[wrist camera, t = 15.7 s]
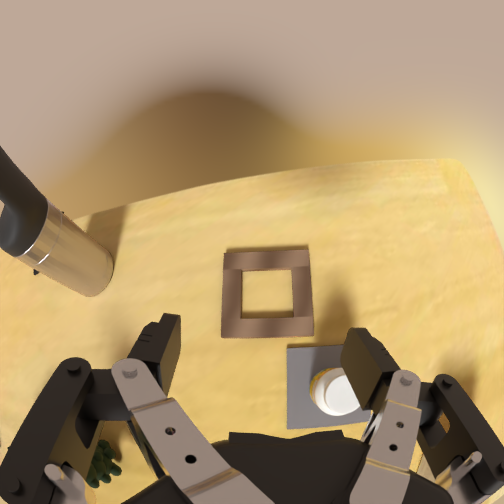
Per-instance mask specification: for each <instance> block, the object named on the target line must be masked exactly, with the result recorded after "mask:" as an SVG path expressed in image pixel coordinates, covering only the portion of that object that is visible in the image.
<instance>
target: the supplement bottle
mask: <svg viewBox="0 0 504 504" xmlns="http://www.w3.org/2000/svg"><path fill="white" fill-rule="evenodd" d="M309 393H310V397H311V399H312V400H313V402H314V403H315V404H316V405H317V406H318V407H319V408H320V409H321V410H322V411H323V412H325V413H327V414H329V415H333V416H340V415H345V414H347V413H350V412H353V411H354V410H356V409H357V408H358V407H359V406H360V404H359V402H358V400H357V398H356V396H355V394H354V391H353V389H352V387H351V385H350V383H349V381H348V379H347V377H346V374H345V372H344V370H343V368H327V369H324V370H322V371H320V372H319V373H317V374H316V375H315V376H314V377H313V379H312V380H311V382H310V386H309Z"/></svg>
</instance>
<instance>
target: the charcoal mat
mask: <svg viewBox="0 0 504 504" xmlns="http://www.w3.org/2000/svg"><path fill="white" fill-rule="evenodd" d="M343 346H344V345H334V346H321V347H304V348H287V429H303V428H318V427H329V426H338V425H346V424H353V423H360V422H366V421H369V419H370V417H371V410H366V411H362V409H361V406H359V407H358V408H357V409H356V410H354V411H353V412H350V413H347V414H345V415H340V416H333V415H329V414H327V413H325V412H323V411H322V410H321V409H320V408H319V407H318V406H317V405H316V404H315V403H314V402H313V400H312V399H311V397H310V393H309V386H310V382H311V380H312V379H313V377H314V376H315V375H316V374H317V373H319V372H320V371H322V370H324V369H327V368H342V366H341V363H340V356H341V352H342V349H343Z"/></svg>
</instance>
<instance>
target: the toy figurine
mask: <svg viewBox="0 0 504 504" xmlns="http://www.w3.org/2000/svg"><path fill="white" fill-rule="evenodd" d="M8 449H9V447H8ZM115 456H116V454H115V451H114V450H113V449H110V445H109V443H108V442H107V441H105V440H100V441H99V442H98V446H96V449H95V452H94V455H93V458H92V461H91V464H90V467H89V471H88V474H87V477H86V482H87V484H88V485H89V486H90V487H92V488H98V487H99V480H101V481H103V482H104V483H110V482H111V477H110V476H109V474H110V473H111V474H113V475H115V476H119V475H121V472H122V470H121V468H120V467H119V466H117V465H116V464H115V463H113V462H112V460H111V459H114V458H115Z"/></svg>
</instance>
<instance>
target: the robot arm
mask: <svg viewBox="0 0 504 504" xmlns="http://www.w3.org/2000/svg"><path fill="white" fill-rule="evenodd" d="M0 200H1V201H2V202H3V203H4V204H5V206H4V208H3V211H2V214H1V217H0V247H1V248H2V249H3V250H4V251H5V252H7V253H8V254H10V255H12V256H13V257H15V258H16V259H18V260H20V261H21V262H23V263H25V264H26V265H28V266H30V267H32V268H33V269H35V270H37V271H39V272H40V273H42V274H44V275H46V276H48V277H49V278H51V279H53V280H55V281H57V282H59V283H60V284H62V285H64V286H66V287H68V288H70V289H72V290H74V291H76V292H78V293H80V294H82V295H84V296H88V297H91V296H95V295H97V294H99V293H100V292H102V291H103V290H104V289H105V287H106V286H107V285H108V283H109V281H110V279H111V276H112V273H113V259H112V256H111V254H110V253H109V252H108V251H107V250H106V249H105V248H104V247H102V246H101V245H100V244H99V243H97V242H96V241H95V240H94V239H93V238H91V237H90V236H89V235H88V234H87V233H85V232H84V231H83V230H82V229H81V228H79V227H78V226H77V225H76V224H75V223H74V222H72V221H71V220H70V219H69V218H68V217H67V216H66V215H64V214H63V213H62V212H61V211H60V210H59V209H58V208H56V207H55V206H54V205H53V204H52V203H51V202H50V201H49V200H48V199H46V198H45V196H43V195H42V194H41V193H40V192H39V191H38V190H37V188H36V187H35V186H34V185H33V184H32V182H31V181H30V180H29V179H28V178H27V177H26V176H25V175H24V174H23V173H22V172H21V171H20V170H19V168H18V167H17V166H16V165H15V164H14V163H13V162H12V160H11V159H10V158H9V156H8V155H7V154H6V153H5V151H4V150H3V149H2V148H1V146H0ZM180 349H181V318H180V315H176V314H168V313H164V314H163V316H162V317H161V319H160V321H159V323H157V322H151V323H149V324H148V325H146V326H145V327H144V328H143V330H142V332H141V334H140V335H139V337H138V339H137V341H136V342H135V344H134V346H133V348H132V350H131V352H130V353H129V355H128V357H127V359H122V360H119V361H118V362H116V363H115V364H114V365H113V366H112V369H91V366H90V364H89V362H88V361H86V360H85V359H82V358H78V357H73V358H68V359H66V360H64V361H62V362H61V363H60V364H59V366H58V367H57V369H56V370H55V372H54V373H53V375H52V376H51V378H50V379H49V381H48V382H47V384H46V385H45V387H44V388H43V390H42V392H41V393H40V395H39V396H38V398H37V400H36V401H35V403H34V405H33V406H32V408H31V410H30V411H29V413H28V415H27V416H26V418H25V420H24V422H23V423H22V425H21V427H20V429H19V431H18V432H17V434H16V436H15V438H14V440H13V442H12V444H11V446H10V447H9V449H8V451H7V453H6V455H5V458H4V460H3V462H2V464H1V466H0V496H1V497H2V499H3V500H4V501H6V502H7V503H8V504H96V495H95V493H94V491H93V490H92V488H91V487H90V486H89V485H88V484H87V482H86V477H87V474H88V471H89V467H90V464H91V461H92V458H93V455H94V452H95V449H96V446H97V443H98V440H99V437H100V434H101V431H102V428H103V425H104V423H105V421H125V422H126V424H127V426H128V428H129V430H130V431H131V433H132V435H133V437H134V439H135V441H136V443H137V445H138V446H139V448H140V450H141V452H142V454H143V456H144V458H145V460H146V462H147V464H148V466H149V468H150V469H151V471H152V473H153V474H154V476H155V477H156V479H157V481H155V482H154V483H153V484H151V485H150V486H148V487H147V488H145V489H144V490H142V491H141V492H139V493H137V494H136V495H134V496H133V497H131V498H129V499H128V500H126V501H125V502H123V503H121V504H481V503H482V502H484V501H485V500H486V499H488V498H489V497H490V496H491V495H493V494H494V493H495V492H496V491H497V490H499V489H500V488H501V487H502V486H503V485H504V447H503V445H502V444H501V442H500V440H499V439H498V437H497V436H496V434H495V433H494V431H493V430H492V428H491V427H490V425H489V424H488V423H487V421H486V420H485V418H484V417H483V415H482V414H481V413H480V411H479V410H478V408H477V407H476V406H475V404H474V403H473V402H472V400H471V399H470V398H469V396H468V395H467V394H466V392H465V391H464V390H463V388H462V387H461V386H460V384H459V383H458V382H457V381H456V380H455V379H454V378H453V377H451V376H449V375H446V374H439V375H437V376H436V377H435V379H434V381H433V383H427V382H421V381H420V379H419V377H418V376H417V375H416V374H414V373H413V372H411V371H407V370H401V369H400V367H399V366H398V365H397V363H396V362H395V361H394V359H393V358H392V356H391V355H390V354H389V352H388V351H387V350H386V348H385V347H384V346H383V344H382V343H381V342H380V341H378V340H377V339H376V338H374V337H372V336H371V334H370V333H369V332H368V330H367V329H366V328H350V329H349V331H348V334H347V337H346V340H345V343H344V346H343V349H342V352H341V356H340V363H341V366H342V368H343V370H344V372H345V374H346V377H347V379H348V381H349V383H350V385H351V387H352V389H353V391H354V394H355V396H356V398H357V400H358V402H359V404H360V406H361V409H362V411H366V410H373V413H372V415H371V417H370V419H369V422H368V424H367V426H366V429H365V431H364V433H363V435H362V438H361V440H360V441H359V440H356V439H353V438H347V437H344V435H343V432H342V430H334V431H323V432H315V433H311V434H308V435H304V436H300V437H296V438H292V439H285V438H279V437H274V436H269V435H264V434H259V433H236V432H229V439H228V440H223V441H218V442H215V443H212V444H210V443H209V442H208V441H207V440H206V438H205V437H204V436H203V435H202V434H201V432H200V431H199V430H198V429H197V427H196V426H195V425H194V424H193V422H192V421H191V420H190V418H189V417H188V416H187V415H186V413H185V412H184V411H183V409H182V408H181V407H180V405H179V404H178V402H177V401H176V400H175V399H174V398H172V397H171V398H167V396H168V392H169V389H170V385H171V382H172V379H173V375H174V372H175V368H176V365H177V362H178V358H179V355H180ZM443 412H444V414H445V415H446V417H447V419H448V420H449V422H450V429H449V431H448V433H447V434H446V432H445V430H444V429H443V427H442V425H441V424H440V422H439V420H438V419H439V418H440V416H441V415H442V414H443ZM416 439H417V441H418V443H419V445H420V447H421V450H422V452H423V454H424V456H425V458H426V460H427V463H428V465H429V467H430V469H431V472H432V474H433V476H434V478H435V483H434V482H432V481H430V480H428V479H426V478H424V477H422V476H421V475H419V474H417V473H415V472H413V471H412V470H410V469H409V467H410V463H411V459H412V455H413V451H414V447H415V443H416Z"/></svg>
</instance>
